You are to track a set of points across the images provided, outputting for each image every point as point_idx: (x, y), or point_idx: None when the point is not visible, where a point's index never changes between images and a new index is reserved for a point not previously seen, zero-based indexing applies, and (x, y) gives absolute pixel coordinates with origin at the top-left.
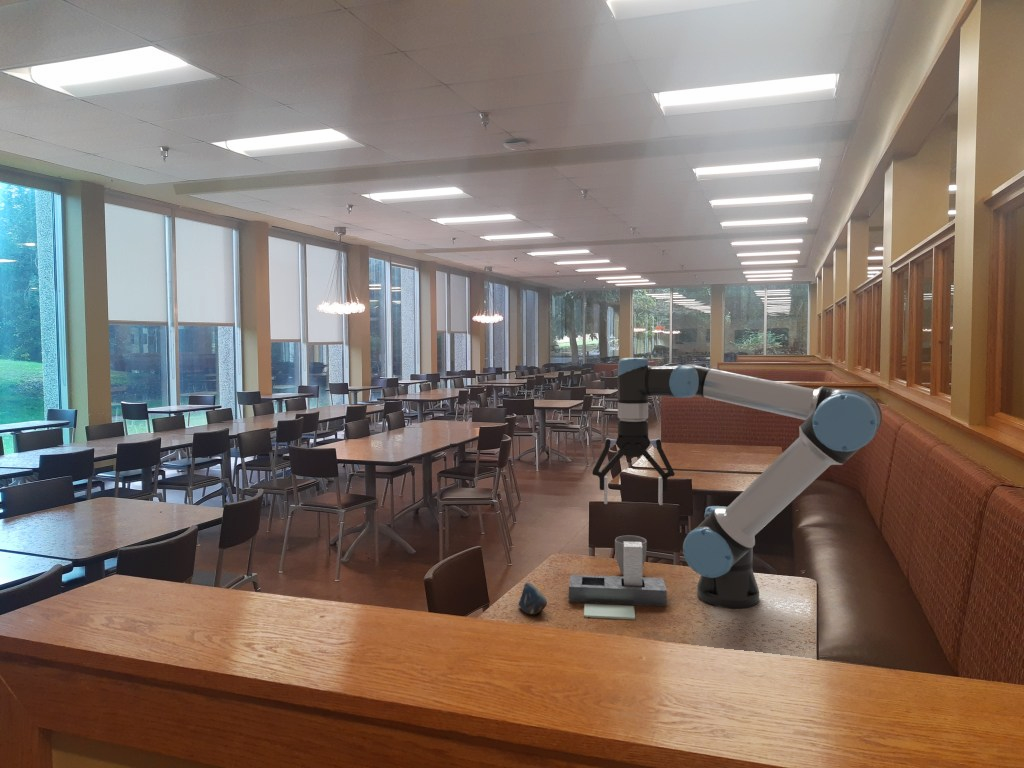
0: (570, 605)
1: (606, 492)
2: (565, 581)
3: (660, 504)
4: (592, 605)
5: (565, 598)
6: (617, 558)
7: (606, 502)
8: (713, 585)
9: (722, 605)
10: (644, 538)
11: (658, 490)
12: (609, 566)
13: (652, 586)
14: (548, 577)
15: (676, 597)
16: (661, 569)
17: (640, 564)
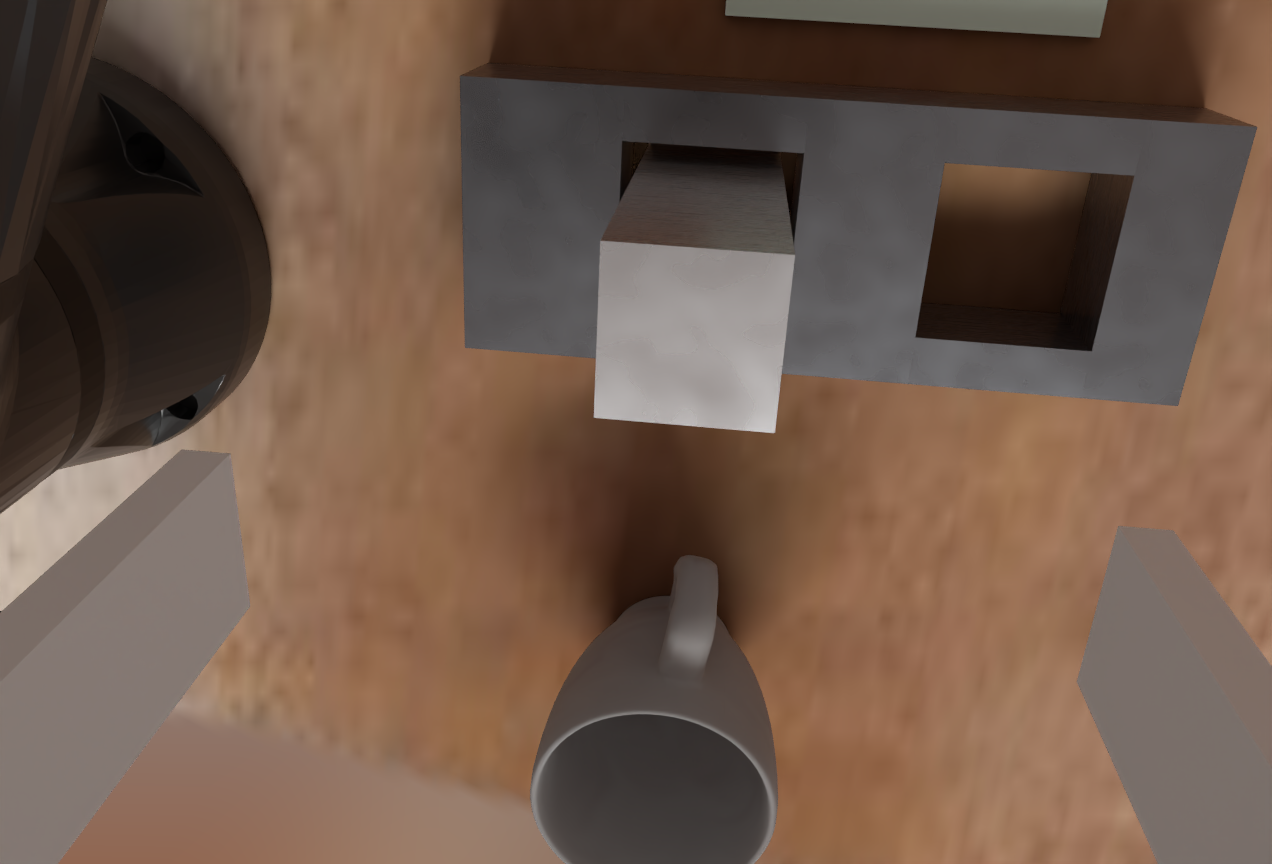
0: (1205, 44)
1: (1213, 654)
2: (1144, 510)
3: (209, 458)
4: (1043, 9)
5: None
6: (761, 692)
7: (1141, 540)
8: (109, 178)
9: (108, 66)
10: (541, 832)
11: (153, 735)
12: (792, 757)
13: (561, 163)
14: (1253, 580)
15: (409, 240)
16: (470, 706)
17: (638, 200)
